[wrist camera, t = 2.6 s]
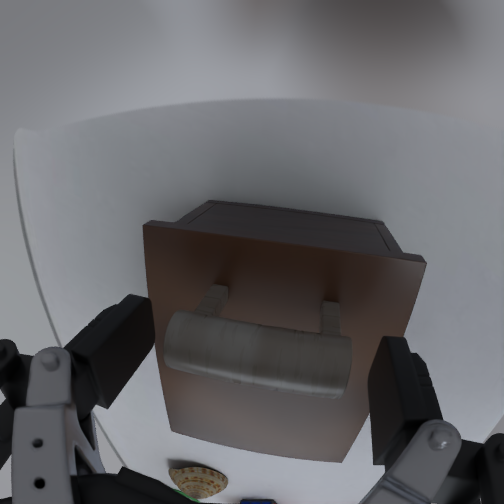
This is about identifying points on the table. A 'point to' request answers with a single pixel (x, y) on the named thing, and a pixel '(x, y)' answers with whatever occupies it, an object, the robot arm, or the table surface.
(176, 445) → the table surface
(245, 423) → the chest lid
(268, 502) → the puzzle
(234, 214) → the chest
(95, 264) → the table surface
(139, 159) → the table surface
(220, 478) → the seashell
